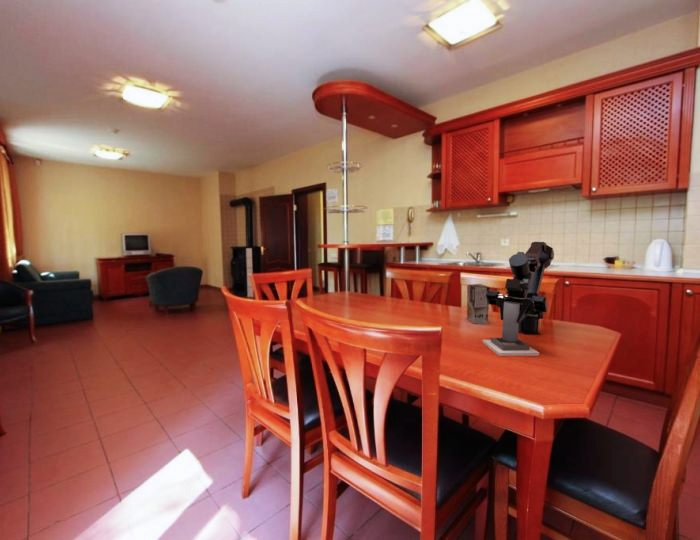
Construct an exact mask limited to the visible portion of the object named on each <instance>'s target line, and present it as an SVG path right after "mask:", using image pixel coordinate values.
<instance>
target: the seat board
mask: <svg viewBox="0 0 700 540" xmlns="http://www.w3.org/2000/svg"><path fill="white" fill-rule="evenodd" d="M481 341H482V344H483V345H485V346H487V348H489V349H490V350H491V351H492V352H493V353H495V354H496V355H497V356H499V357H507V356H508V357H526V356H527V357H528V356H529V357H531V356H532V357H536V356H537V357H538V356H540V352H539V351H537V350H536V349H534V348H533V347H531V346H530V345H529V344H527V343H525V342H524V341H522V340H521V339H520V338H518V341H514V342H512V341H506V340H503V339H502V336H501V337H490V339H482V340H481Z"/></svg>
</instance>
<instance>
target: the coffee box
mask: <svg viewBox="0 0 700 540" xmlns="http://www.w3.org/2000/svg"><path fill="white" fill-rule="evenodd" d="M490 288H491V286H487V285H484V284H478V283H475V284H473V283H472V284H468V287H467V311H466V313H467V314H466V319H467V320H468V321H470V322H471V323H473V324H475V325H476V324H477V325H487V324H488V323H489V308H490V307H489V306H490V304H489V303H488V301H487V298H486V293H487V291H489V290H491V289H490Z"/></svg>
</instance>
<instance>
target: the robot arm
mask: <svg viewBox="0 0 700 540" xmlns="http://www.w3.org/2000/svg"><path fill="white" fill-rule="evenodd" d="M554 257H555V251H554V248H553V247H551V246H550V245H548V244H547V243H546V242H544V241H533V242H531V243H530V246H529V248H528V249H527V251H526V252H524V251H517V253H516V254H513V255H511V256H510V257H509V258H508V263H509V267H510V271H511V275H513V277H512V278H507V279H506V281H505V285H504V286H505V287H504V289H505V292H506V295H505V294H503V293H502V294H501V293H500V292H501V291H500V290H491V289H490V290H489V291H487V293H486V298H487V301H488V303H489V306H496V307H497V308H499V312H500V320H501V321H503V311H504V302H517V303H520V310H519V316H518V320H517V322H518V323H519V327H518V332H520V333H522V334H525V335H539V334H541V332H540V331H539V323H540V320H542V319H544V313H547V312H548V307H549V306H548V305H549V304H548V299H547V297H546V296H544V295H539V292H540V289H541V286H542V285H541V284H542V281H543V277H544V273H545V269H546V268H548V267H550V266H551V263H552V261H553V260H554V259H555V258H554Z"/></svg>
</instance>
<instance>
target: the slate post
mask: <svg viewBox="0 0 700 540" xmlns="http://www.w3.org/2000/svg"><path fill="white" fill-rule="evenodd" d="M519 310H520V303H517V302H504V311H503V320H502V331H501V333H502V334H501V335H502V336H501V337H502V339H503V340H506V341H512V342H514V341H518V339H519V331H518V327H519V323H518V322H517V320H518V316H519Z"/></svg>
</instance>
